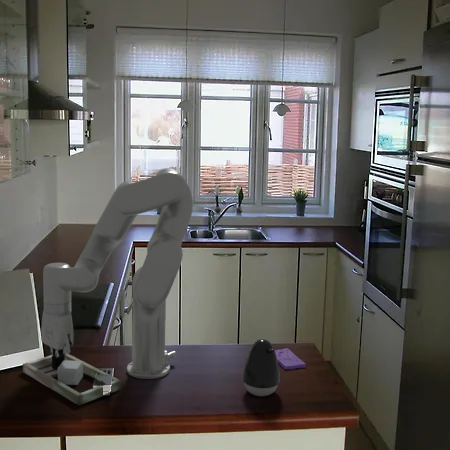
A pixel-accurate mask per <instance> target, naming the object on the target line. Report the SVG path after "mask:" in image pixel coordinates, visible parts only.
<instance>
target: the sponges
mask: <svg viewBox="0 0 450 450" xmlns="http://www.w3.org/2000/svg"><path fill="white" fill-rule="evenodd" d="M274 350H275V353H276V356H277V360H278V363H279V364H280V365H281V366H280V365H279V364H278V365H279V366H280V367H281V368H282V369H284V370H286V369H287V370H286V371H289V369H290V370H296V368H297V369H302V368H306V363H305V362H304V361H303V360H302V359H300V357H298V356H297V355H295V354H294V352H292V351H291V350H290V349H289V348H281V349H274Z"/></svg>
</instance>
